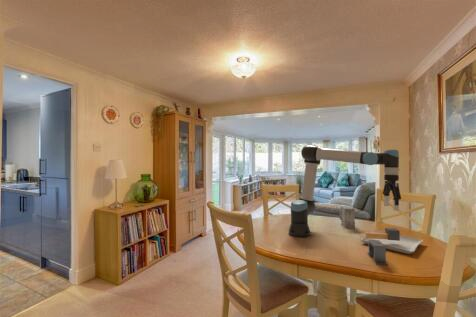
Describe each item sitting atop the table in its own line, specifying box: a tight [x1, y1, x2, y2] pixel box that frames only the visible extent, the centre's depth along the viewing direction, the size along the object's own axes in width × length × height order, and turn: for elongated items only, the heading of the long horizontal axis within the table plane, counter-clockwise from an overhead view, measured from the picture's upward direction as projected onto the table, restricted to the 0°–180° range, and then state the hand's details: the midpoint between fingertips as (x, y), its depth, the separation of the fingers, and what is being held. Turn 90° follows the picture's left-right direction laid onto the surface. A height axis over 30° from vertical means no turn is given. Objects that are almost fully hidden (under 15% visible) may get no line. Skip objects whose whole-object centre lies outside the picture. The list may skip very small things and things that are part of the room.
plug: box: [364, 227, 403, 241], centre depth 143 cm, size 19×5×6 cm, turn 77°
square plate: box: [360, 230, 424, 255], centre depth 141 cm, size 27×27×4 cm
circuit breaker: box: [338, 206, 356, 229], centre depth 183 cm, size 8×14×15 cm, turn 174°
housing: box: [367, 240, 389, 266], centre depth 120 cm, size 5×13×9 cm, turn 167°
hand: (391, 208), depth 142 cm, fingers open, 13 cm apart
